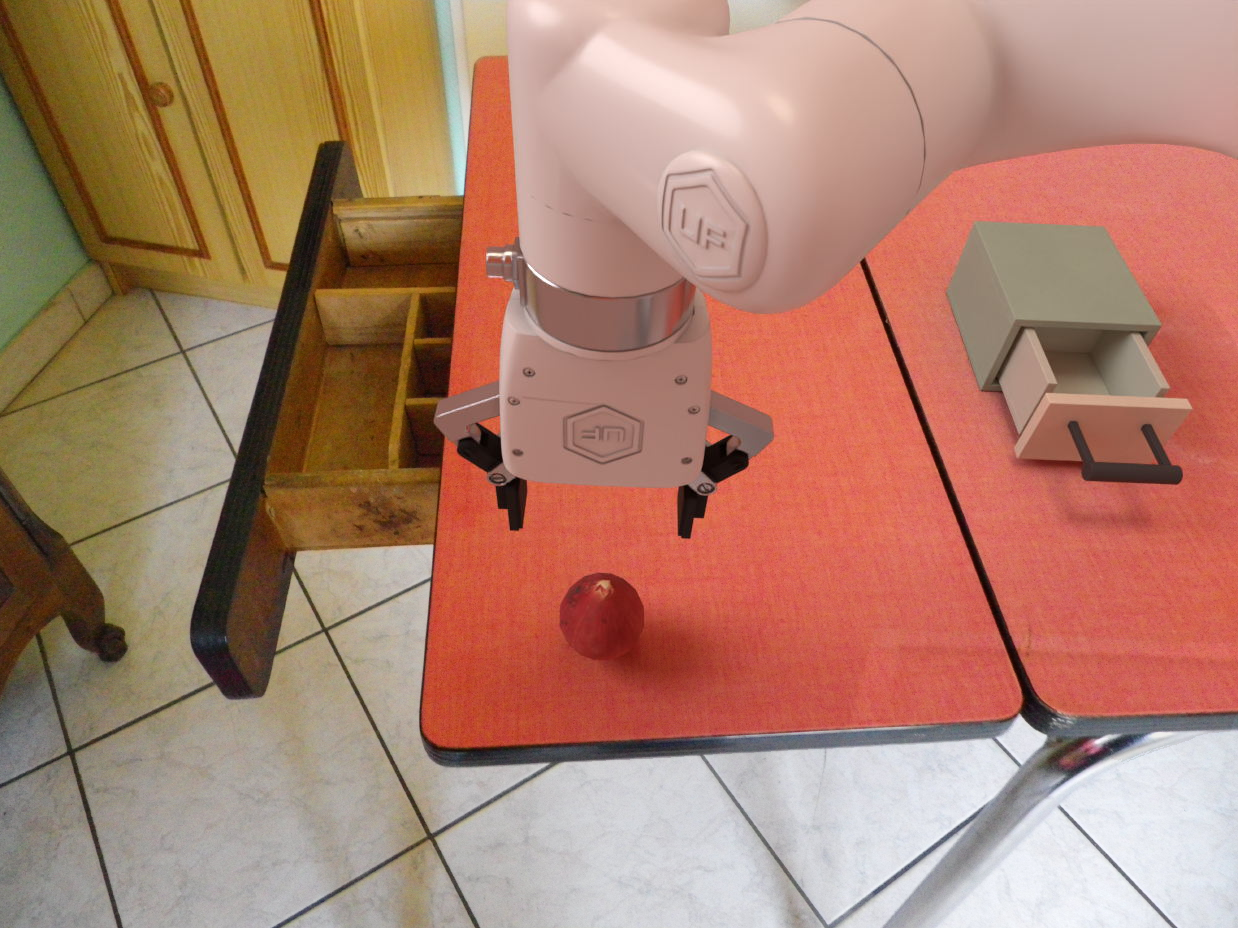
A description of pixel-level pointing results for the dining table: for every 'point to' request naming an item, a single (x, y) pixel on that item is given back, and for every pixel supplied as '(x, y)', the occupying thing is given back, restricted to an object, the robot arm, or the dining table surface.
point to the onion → (602, 616)
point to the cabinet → (1040, 288)
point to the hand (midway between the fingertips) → (601, 514)
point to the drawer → (1092, 403)
